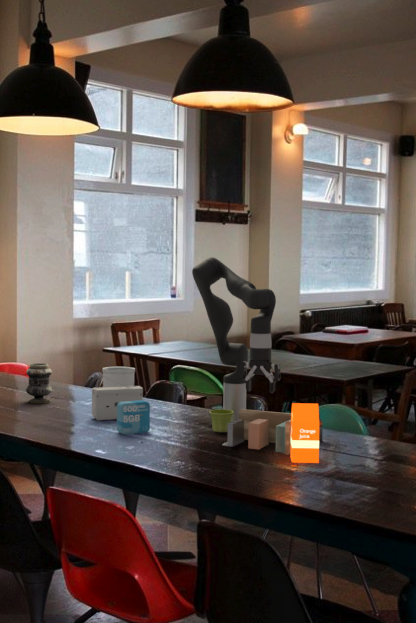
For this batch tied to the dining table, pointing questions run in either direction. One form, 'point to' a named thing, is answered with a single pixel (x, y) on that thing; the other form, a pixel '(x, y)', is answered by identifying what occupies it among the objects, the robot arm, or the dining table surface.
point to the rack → (274, 420)
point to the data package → (133, 417)
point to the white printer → (112, 399)
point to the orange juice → (304, 433)
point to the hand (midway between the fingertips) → (260, 392)
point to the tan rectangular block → (258, 434)
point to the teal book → (280, 437)
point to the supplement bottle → (320, 429)
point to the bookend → (235, 433)
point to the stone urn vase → (39, 382)
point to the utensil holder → (118, 376)
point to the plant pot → (220, 419)
